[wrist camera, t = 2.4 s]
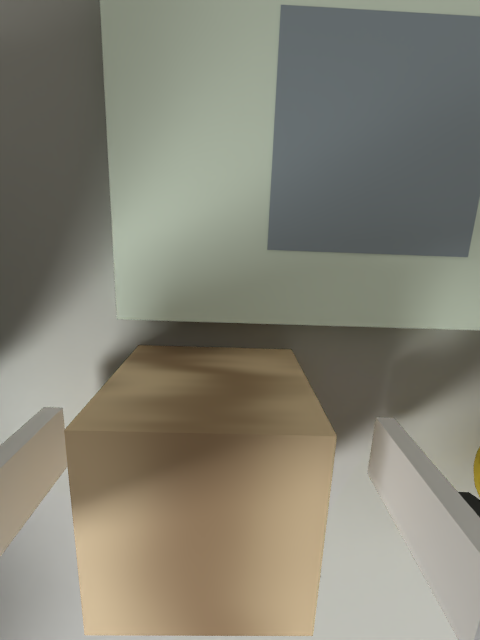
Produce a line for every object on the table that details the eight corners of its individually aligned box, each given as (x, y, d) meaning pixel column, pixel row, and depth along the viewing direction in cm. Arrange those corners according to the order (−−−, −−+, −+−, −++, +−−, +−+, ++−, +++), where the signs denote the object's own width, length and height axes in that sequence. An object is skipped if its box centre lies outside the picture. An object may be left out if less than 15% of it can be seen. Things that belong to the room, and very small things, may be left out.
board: (125, 313, 15) (116, 319, 14) (107, -86, 11) (92, -125, 10) (563, 326, 15) (592, 334, 14) (668, -49, 12) (717, -82, 11)
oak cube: (144, 475, 17) (84, 635, 10) (139, 344, 15) (64, 430, 8) (281, 477, 17) (312, 635, 10) (290, 348, 15) (336, 435, 9)
